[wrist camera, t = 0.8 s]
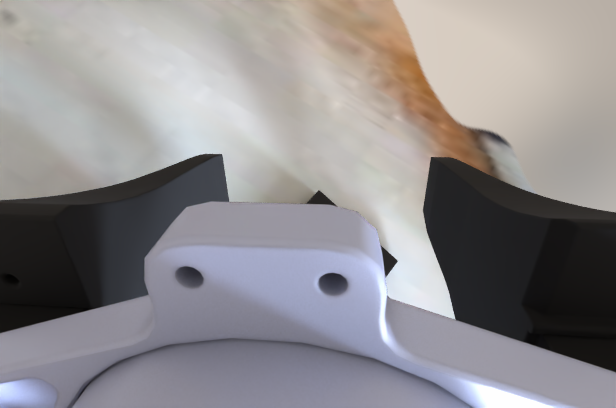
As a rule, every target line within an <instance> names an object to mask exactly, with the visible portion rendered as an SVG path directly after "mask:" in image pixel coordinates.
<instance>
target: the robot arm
mask: <svg viewBox="0 0 616 408" xmlns="http://www.w3.org/2000/svg"><path fill="white" fill-rule="evenodd" d="M423 213H424V218H425V224H426V228H427V233H428V236H429V239H430V241H431V244H432V247H433V249H434V252H435V255H436V257H437V260H438V263H439V265H440V268H441V270H442V273H443V276H444V278H445V281H446V284H447V287H448V290H449V294H450V298H451V302H452V306H453V311H454V315H455V319H456V320H454V319H451V318H448V317H445V316H442V315H439V314H436V313H433V312H430V311H427V310H424V309H421V308H418V307H414V306H411V305H408V304H405V303H402V302H399V301H396V300H393V299H390V298H389V297H388V296H387V286H386V279H385V271H384V264H383V256H382V250H381V246H380V242H379V237H378V233H377V229H376V228H374V227H373V226H372V225H371V224H370V223H369V222H368V221H367V220H366V219H365V218H364V217H362V216H361V215H360V214H359V213H358V212H356V211H352V210H348V209H345V208H341V207H337V206H333V205H325V204H287V203H250V202H229V197H228V191H227V184H226V177H225V170H224V164H223V157H222V154H203V155H198V156H195V157H192V158H189V159H187V160H184V161H182V162H179V163H177V164H174V165H172V166H169V167H167V168H164V169H161V170H159V171H156V172H153V173H150V174H148V175H145V176H142V177H139V178H136V179H133V180H130V181H127V182H123V183H119V184H116V185H112V186H108V187H104V188H99V189H93V190H88V191H83V192H78V193H72V194H65V195H58V196H50V197H41V198H30V199H15V200H0V408H616V213H615V212H608V211H602V210H597V209H591V208H587V207H582V206H578V205H573V204H569V203H565V202H561V201H557V200H553V199H550V198H546V197H543V196H540V195H537V194H534V193H531V192H528V191H525V190H523V189H520V188H517V187H515V186H512V185H510V184H508V183H505V182H503V181H501V180H498V179H496V178H494V177H492V176H490V175H488V174H486V173H484V172H482V171H480V170H478V169H476V168H474V167H472V166H470V165H468V164H466V163H464V162H461V161H459V160H457V159H454V158H449V157H431V161H430V168H429V174H428V181H427V188H426V194H425V201H424V207H423Z"/></svg>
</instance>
